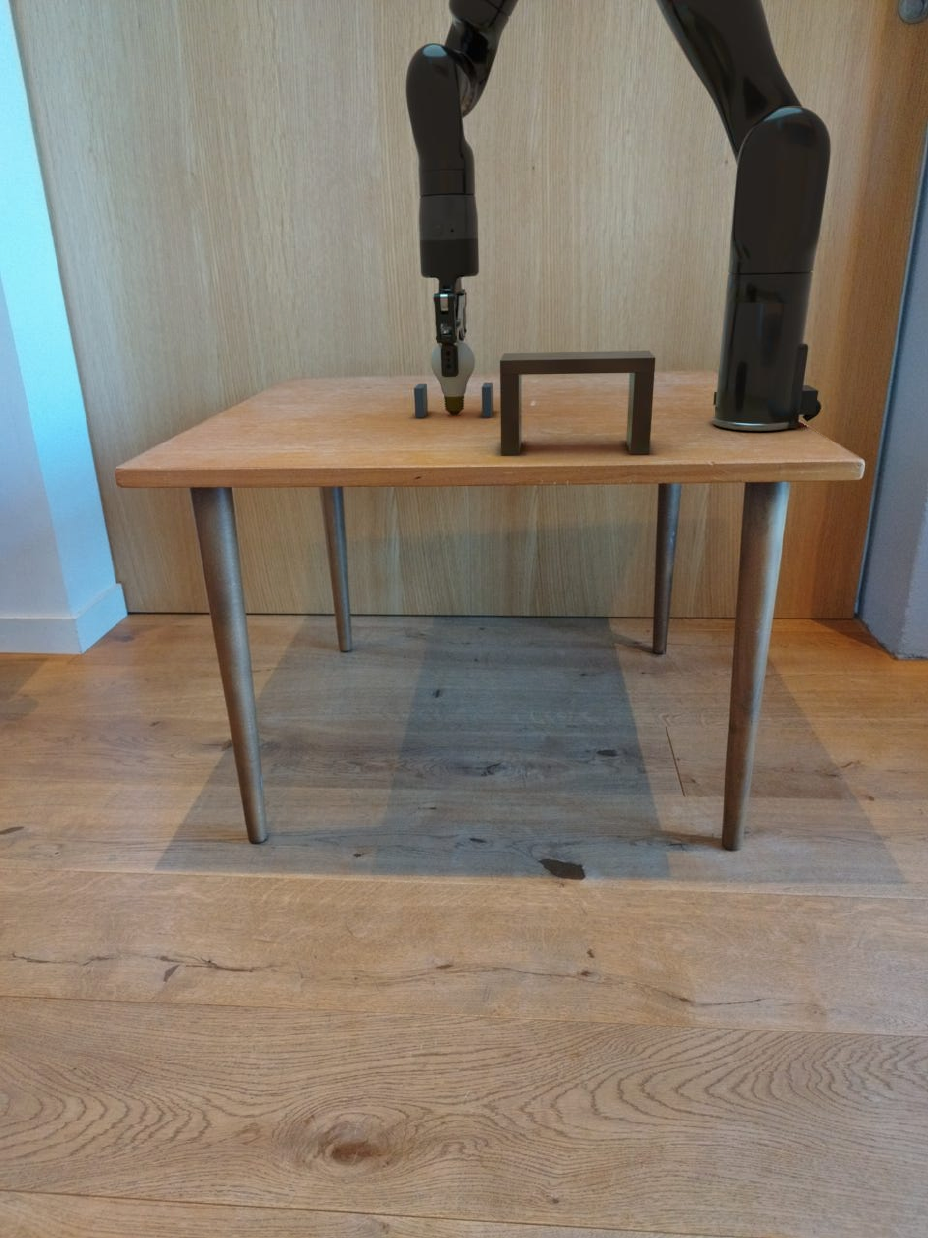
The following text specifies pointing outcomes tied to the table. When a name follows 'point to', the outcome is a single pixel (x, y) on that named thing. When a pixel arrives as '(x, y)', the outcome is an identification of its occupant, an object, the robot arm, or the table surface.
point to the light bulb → (454, 385)
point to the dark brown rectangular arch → (578, 363)
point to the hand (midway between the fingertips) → (453, 372)
